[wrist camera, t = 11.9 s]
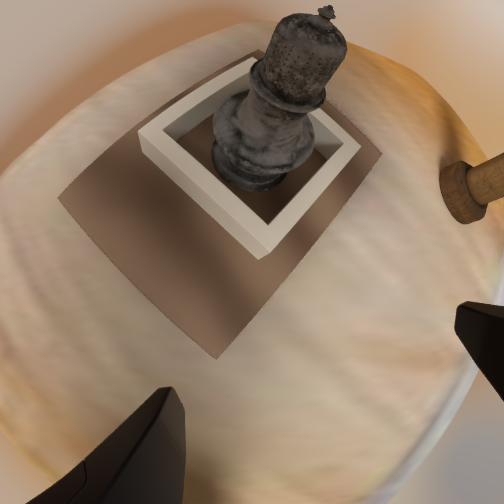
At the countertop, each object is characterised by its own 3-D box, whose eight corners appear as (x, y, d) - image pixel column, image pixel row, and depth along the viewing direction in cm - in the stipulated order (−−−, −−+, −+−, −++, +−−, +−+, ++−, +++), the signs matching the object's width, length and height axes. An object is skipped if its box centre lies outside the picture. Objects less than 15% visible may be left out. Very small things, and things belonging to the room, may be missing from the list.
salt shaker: (268, 214, 18) (390, 90, 6) (188, 165, 17) (209, -7, 5) (307, 150, 19) (409, 30, 8) (236, 107, 18) (290, -37, 7)
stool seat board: (213, 355, 17) (221, 369, 13) (63, 203, 16) (41, 182, 12) (374, 159, 22) (400, 140, 19) (255, 58, 21) (266, 29, 18)
